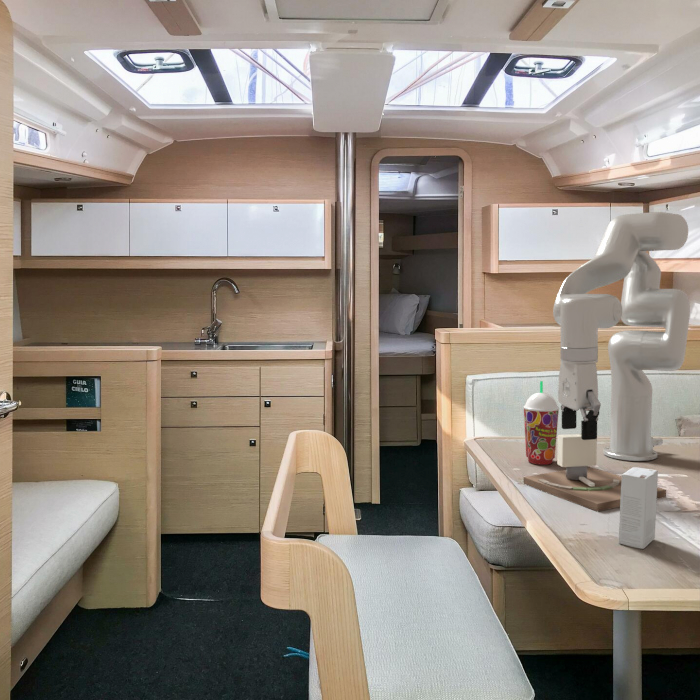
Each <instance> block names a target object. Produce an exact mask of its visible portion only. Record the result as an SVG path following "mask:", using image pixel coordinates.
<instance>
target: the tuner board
mask: <svg viewBox="0 0 700 700" xmlns="http://www.w3.org/2000/svg"><path fill="white" fill-rule="evenodd" d="M587 479H588V480H590V481H591V482H593V483H595V486H592V487H590V486H589V485H587V484H585V483H584V482H582V481H581V480H571V479H568V478H566V469H564V470H559V471H558V470H557V471H552V472H546V473H540V474H534V475H528V476H523V480H522V481H523V482H522V483H524V484H523V485H525V484H526V485H525V486H528V485H529V487H530V486H531V488H533V487H534V488H533V489H536V490H538V489H539V491H541V490H542V492H543V493H546V492H547V494H549V495H553V496H555V497H558V498H560V499H562V500H565V501H568V502H570V503H573V504H575V505H578V506H582V507H584V508H586V507H587V508H586V509H589V510H592V511H594V510H595V512H597V511H598V512H602V511H606V510H611V509H616V508H620V501H621V484H622V475H618V474H616V473H612V472H608V471H605V470H604V469H603V470H602V469H598V468H595V467H593V466H587ZM662 498H667V489H665V488H661V487H658V486H657V499H662Z"/></svg>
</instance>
